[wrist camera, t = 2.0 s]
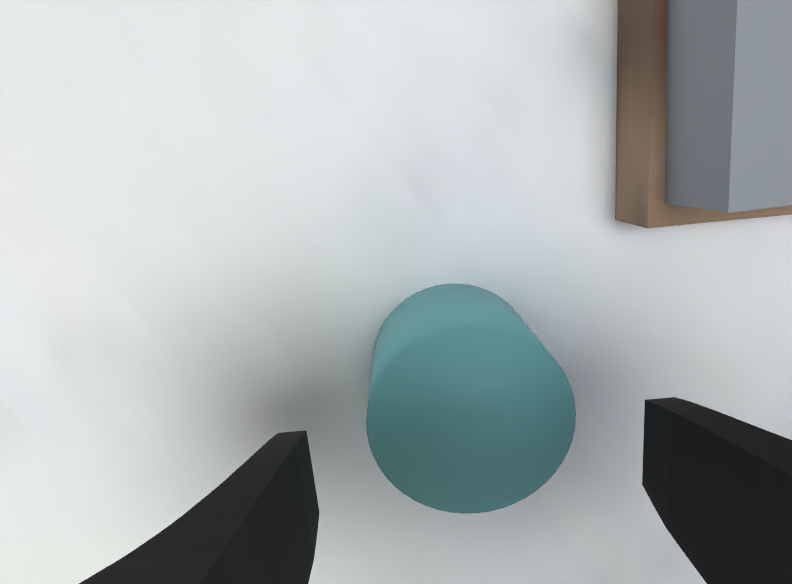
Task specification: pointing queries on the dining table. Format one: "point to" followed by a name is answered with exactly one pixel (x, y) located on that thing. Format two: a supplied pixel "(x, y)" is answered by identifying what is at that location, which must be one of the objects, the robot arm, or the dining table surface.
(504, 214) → the dining table surface
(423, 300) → the teal cylinder
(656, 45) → the walnut slab
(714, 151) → the grey flat square block
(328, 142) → the dining table surface
